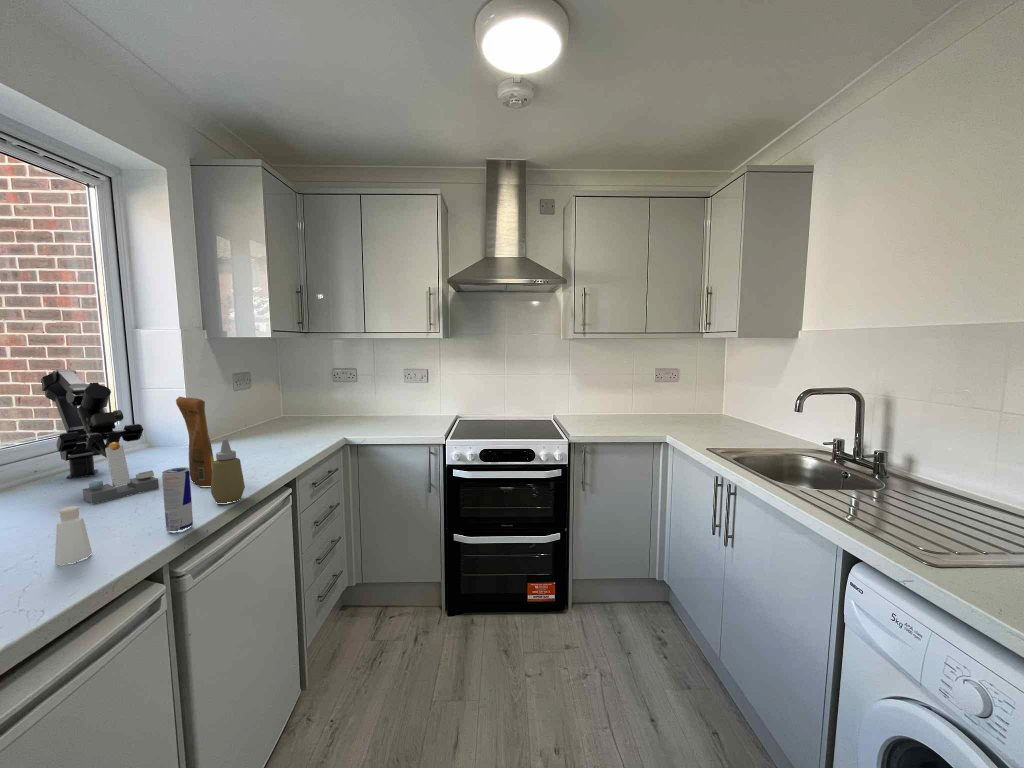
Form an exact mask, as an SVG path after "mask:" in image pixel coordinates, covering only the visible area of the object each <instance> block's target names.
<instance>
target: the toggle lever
mask: <svg viewBox="0 0 1024 768" xmlns="http://www.w3.org/2000/svg"><path fill="white" fill-rule="evenodd" d="M105 451H106V456H107V458H106V460H107V463H108V464H107V466H108V471H109V475H110V479H111V484H112V485H111V486H113V487H118V486H123V485H127V484H128V483H131V482H130V479H131V478H130V474H129V473H130V472H129V468H128V464H127V460H126V454H125V450H124V445H123V444H122V445H121V444H120V443H118V442H111V443H109V444H108V446H107V448H105Z"/></svg>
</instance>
